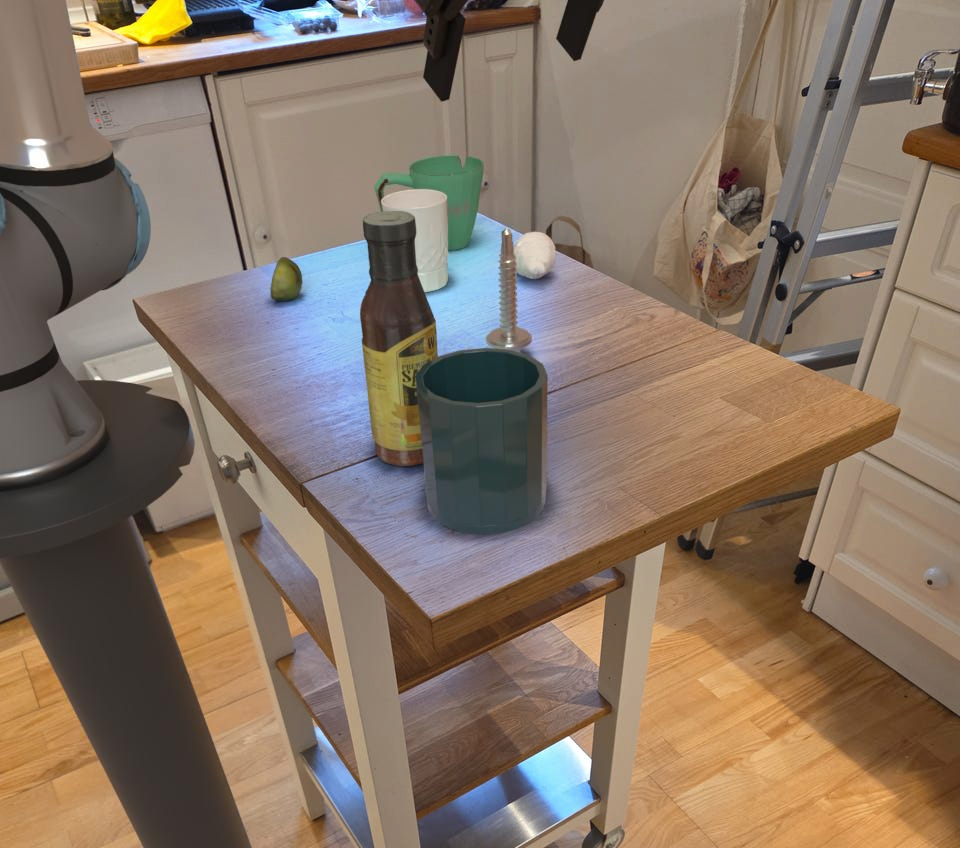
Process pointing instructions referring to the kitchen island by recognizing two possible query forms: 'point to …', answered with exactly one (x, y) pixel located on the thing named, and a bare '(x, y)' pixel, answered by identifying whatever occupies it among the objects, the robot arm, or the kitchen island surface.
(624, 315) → the kitchen island surface
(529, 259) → the garlic bulb
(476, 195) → the mug
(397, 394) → the sauce bottle
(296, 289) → the lime
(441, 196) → the white cup
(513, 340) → the screw
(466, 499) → the crock
